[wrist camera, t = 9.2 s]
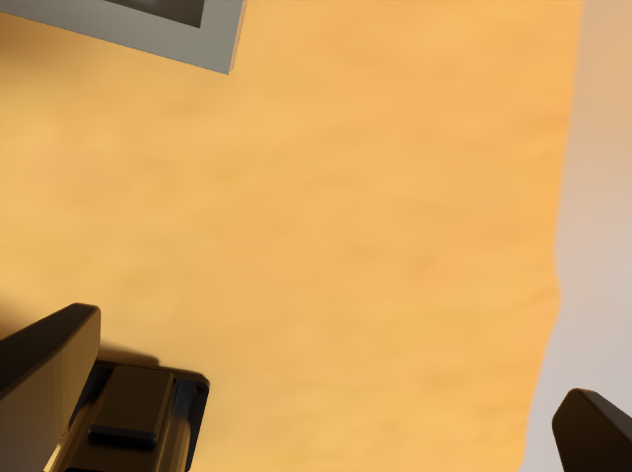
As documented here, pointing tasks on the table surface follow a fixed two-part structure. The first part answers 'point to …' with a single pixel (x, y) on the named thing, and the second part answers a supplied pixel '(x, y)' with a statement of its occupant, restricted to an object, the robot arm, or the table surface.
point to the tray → (149, 25)
